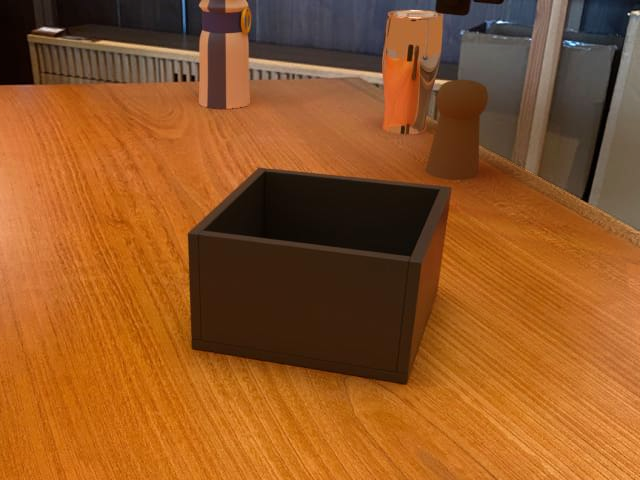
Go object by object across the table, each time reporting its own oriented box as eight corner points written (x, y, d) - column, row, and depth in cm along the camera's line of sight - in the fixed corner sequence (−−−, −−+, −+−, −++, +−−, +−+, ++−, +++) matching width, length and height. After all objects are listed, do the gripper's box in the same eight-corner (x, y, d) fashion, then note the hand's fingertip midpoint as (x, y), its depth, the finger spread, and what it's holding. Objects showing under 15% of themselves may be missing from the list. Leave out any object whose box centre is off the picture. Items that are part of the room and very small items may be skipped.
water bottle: (260, 98, 128) (262, -92, 115) (243, 111, 121) (244, -90, 108) (209, 94, 130) (206, -93, 117) (190, 106, 123) (184, -90, 110)
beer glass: (437, 138, 109) (453, 12, 101) (418, 151, 104) (433, 19, 96) (387, 131, 112) (398, 8, 104) (366, 143, 107) (376, 15, 99)
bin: (437, 291, 69) (452, 186, 64) (406, 384, 56) (421, 262, 52) (257, 267, 73) (258, 167, 69) (191, 348, 61) (187, 232, 56)
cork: (420, 193, 90) (432, 86, 84) (423, 176, 95) (435, 74, 89) (478, 197, 89) (494, 89, 83) (478, 180, 94) (494, 77, 88)
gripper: (511, -214, 66) (475, 23, 75) (572, -200, 78) (535, 2, 87) (422, -212, 69) (398, 15, 78) (494, -199, 81) (466, -4, 91)
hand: (470, 8), depth 83 cm, fingers open, 9 cm apart
